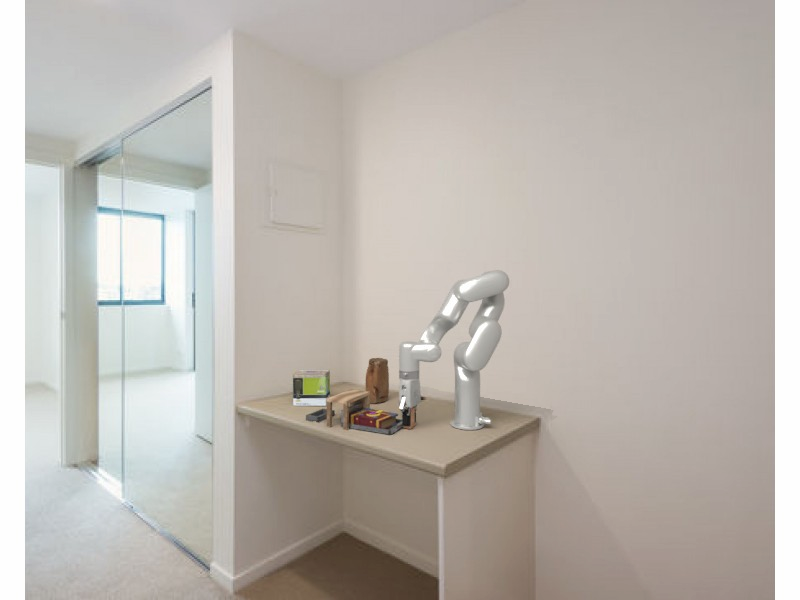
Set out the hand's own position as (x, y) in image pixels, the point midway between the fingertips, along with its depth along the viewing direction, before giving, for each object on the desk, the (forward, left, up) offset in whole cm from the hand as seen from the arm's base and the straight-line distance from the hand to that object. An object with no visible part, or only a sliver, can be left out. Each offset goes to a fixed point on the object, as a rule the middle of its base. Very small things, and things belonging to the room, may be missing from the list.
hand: (409, 423), depth 158 cm
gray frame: (+37, +4, -2) cm, 38 cm away
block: (+29, -28, -2) cm, 41 cm away
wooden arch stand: (+24, +4, -2) cm, 24 cm away
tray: (+11, +4, -1) cm, 12 cm away
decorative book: (+14, +3, -2) cm, 14 cm away
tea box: (+54, -12, -2) cm, 56 cm away
